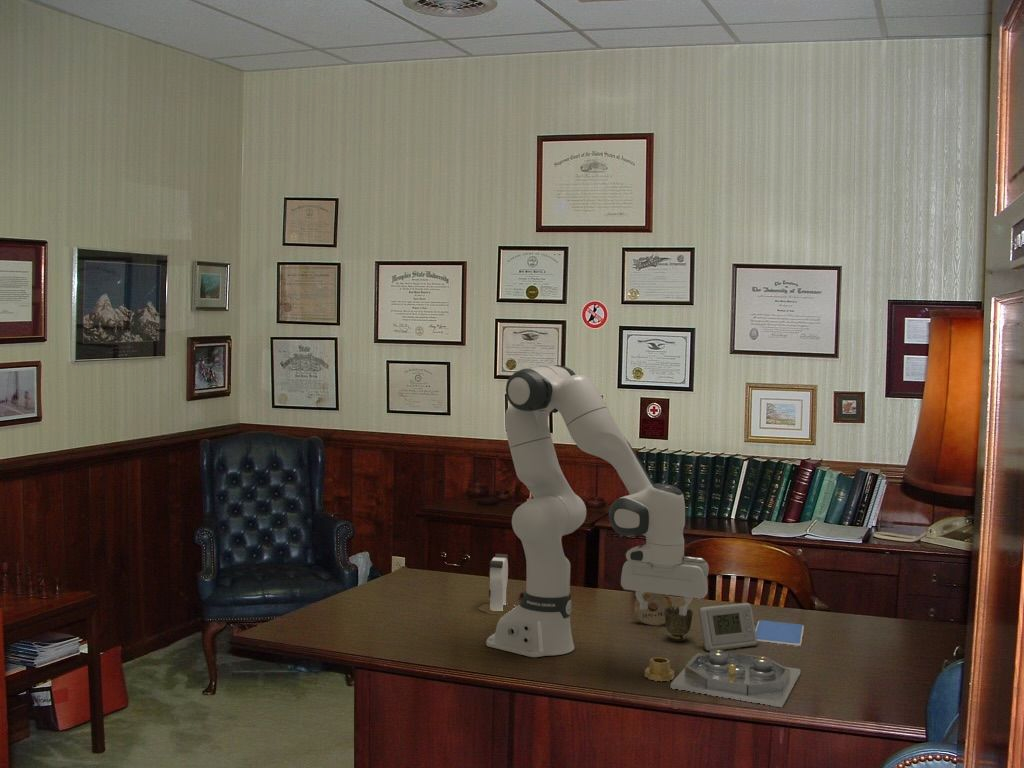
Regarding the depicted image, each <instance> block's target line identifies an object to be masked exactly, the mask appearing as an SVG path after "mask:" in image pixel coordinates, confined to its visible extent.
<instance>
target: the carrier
mask: <svg viewBox="0 0 1024 768" xmlns="http://www.w3.org/2000/svg"><path fill="white" fill-rule="evenodd" d="M800 675H801V669H800V668H796V667H795V668H794V667H788V666H784V665H783V664H780V663H778V662H776V661H775V660H773V659H772V658H771V657H768V656H764V655H754V654H747V653H742V652H741V653H740V652H733V651H726V650H720V649H716V650H711V651H709V653H698V652H697V654H695V655H693V656H692V658H690V660H689V661H688V662H687V663H686V664H685V665H684V668H683V669H682V670H681V672H679V674H678V675H677V676H676V677H674V678H673V679H672V681H671V683H670V689H671V688H672V689H671V690H675V689H678V690H677V691H681V690H686V691H685V692H687V691H690V692H689V693H693V692H695V693H694V694H698V693H701V694H700V695H704V694H707V695H706V696H710V695H711V696H712V697H716V696H718V697H717V698H722V697H723V699H728V698H731V699H730V700H734V699H735V700H734V701H740V700H741V702H745V701H746V702H747V703H751V702H752V703H753V704H757V703H760V704H759V705H763V704H765V705H764V706H769V705H770V707H775V708H781V709H782V708H783V707H784V705H785V703H786V701H787V700H788V698H789V695H790V694H791V692H792V690H793V688H794V686H795V684H796V683H797V681H798V679H799V677H800ZM711 696H710V697H711Z"/></svg>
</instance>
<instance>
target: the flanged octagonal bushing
mask: <svg viewBox="0 0 1024 768" xmlns="http://www.w3.org/2000/svg"><path fill="white" fill-rule="evenodd" d="M644 677H645V678H646V677H647V678H648V679H647V678H646V679H647V680H649V679H650V680H649V681H651V680H654V681H653V682H657V681H661V682H660V683H663V682H662V681H667V682H671V681H670V680H672V681H673V680H674V679H675V671H674V670H673V669H671V660H669V659H668V658H665V657H659V656H657V657H651V658H650V659H649V666H647V667H646V669H644Z"/></svg>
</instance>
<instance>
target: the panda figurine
mask: <svg viewBox="0 0 1024 768" xmlns="http://www.w3.org/2000/svg"><path fill="white" fill-rule="evenodd" d="M508 559H509V554H507V553H495V556H493V558H492V559H491V560H490V562H489V572H488V580H489V581H488V582H489V589H488V598H489V603H490V610H492V611H503V605H506V603H507V586H508V585H507V584H508V576H509V563H508V561H509V560H508Z"/></svg>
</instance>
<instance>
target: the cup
mask: <svg viewBox="0 0 1024 768" xmlns="http://www.w3.org/2000/svg"><path fill="white" fill-rule="evenodd" d="M679 608H680V606H677V607H676V608H675V607H674V606H672V609H671V608H670V607H667V609H666V608H665V611H664V612H665V623H664V624H665V628H666V631H667V632H668V633H669V634H670V639H671V640H672V641H674V642H683V641H685V637H686V636H685V635H687V634H688V633H689V632H690V629H691V626H692V621H693V620H692V619H693V610H692V609H691V608H687V615H686V616H683V615H679V612H680V611H679Z"/></svg>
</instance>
